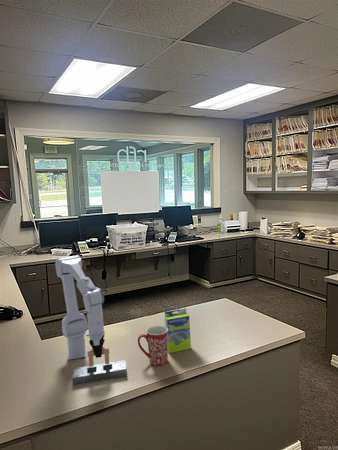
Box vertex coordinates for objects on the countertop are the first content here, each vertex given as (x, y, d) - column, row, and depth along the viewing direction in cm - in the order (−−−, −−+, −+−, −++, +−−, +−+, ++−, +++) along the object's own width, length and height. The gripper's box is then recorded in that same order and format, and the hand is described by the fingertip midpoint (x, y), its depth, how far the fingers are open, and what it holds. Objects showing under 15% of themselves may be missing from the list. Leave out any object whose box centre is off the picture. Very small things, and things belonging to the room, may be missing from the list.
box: (169, 353, 142) (166, 315, 140) (166, 349, 145) (163, 311, 144) (191, 348, 145) (189, 310, 143) (188, 344, 149) (186, 307, 147)
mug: (170, 355, 140) (168, 324, 139) (169, 366, 131) (167, 334, 130) (140, 356, 141) (138, 326, 139) (138, 368, 132) (135, 335, 130)
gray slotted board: (74, 375, 129) (73, 368, 129) (125, 367, 133) (125, 359, 133) (73, 385, 122) (72, 378, 122) (127, 376, 126) (126, 368, 126)
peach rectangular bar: (88, 363, 128) (87, 348, 127) (109, 360, 129) (108, 345, 129) (88, 366, 125) (87, 351, 125) (109, 363, 127) (108, 348, 126)
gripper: (85, 315, 132) (88, 348, 133) (83, 330, 118) (87, 366, 119) (103, 313, 133) (106, 345, 135) (103, 327, 119) (106, 363, 120)
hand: (98, 355), depth 127 cm, fingers closed on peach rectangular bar, 2 cm apart
